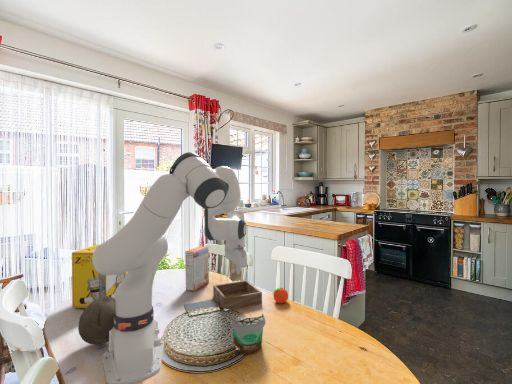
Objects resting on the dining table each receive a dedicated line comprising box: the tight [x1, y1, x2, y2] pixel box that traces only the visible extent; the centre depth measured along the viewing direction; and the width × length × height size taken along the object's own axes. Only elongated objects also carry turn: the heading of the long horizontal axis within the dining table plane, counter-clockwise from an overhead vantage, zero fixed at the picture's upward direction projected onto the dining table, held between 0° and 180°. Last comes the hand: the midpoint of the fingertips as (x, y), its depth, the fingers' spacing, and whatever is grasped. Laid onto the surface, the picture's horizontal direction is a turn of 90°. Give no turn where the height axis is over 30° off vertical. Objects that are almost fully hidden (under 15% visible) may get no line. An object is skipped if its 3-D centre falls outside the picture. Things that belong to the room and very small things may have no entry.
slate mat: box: [183, 298, 221, 312], centre depth 119 cm, size 12×14×1 cm
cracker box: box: [184, 245, 210, 292], centre depth 145 cm, size 14×6×21 cm, turn 156°
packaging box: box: [71, 244, 127, 309], centre depth 127 cm, size 16×16×25 cm
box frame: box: [212, 279, 263, 311], centre depth 128 cm, size 18×18×6 cm
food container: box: [230, 313, 266, 355], centre depth 88 cm, size 12×6×10 cm, turn 114°
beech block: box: [228, 260, 243, 282], centre depth 128 cm, size 4×4×9 cm
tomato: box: [272, 287, 289, 304], centre depth 124 cm, size 8×7×7 cm
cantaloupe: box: [77, 296, 116, 346], centre depth 93 cm, size 14×14×15 cm
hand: (235, 271), depth 128 cm, fingers closed on beech block, 4 cm apart
